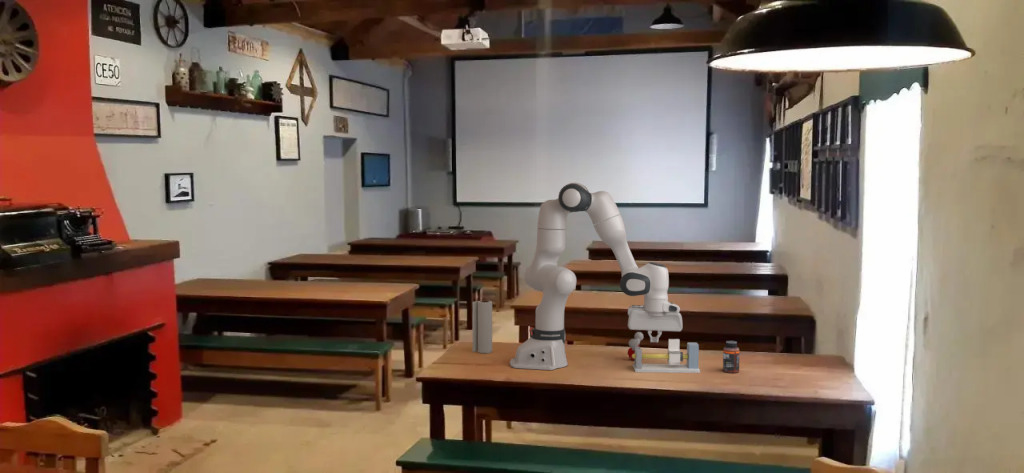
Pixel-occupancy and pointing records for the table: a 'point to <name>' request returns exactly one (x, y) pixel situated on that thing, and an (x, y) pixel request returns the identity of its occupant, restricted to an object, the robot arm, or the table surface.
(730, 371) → the supplement bottle
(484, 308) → the grey grooved column
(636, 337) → the molecular model
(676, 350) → the marker sleeve
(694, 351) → the cord rig
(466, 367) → the table surface
